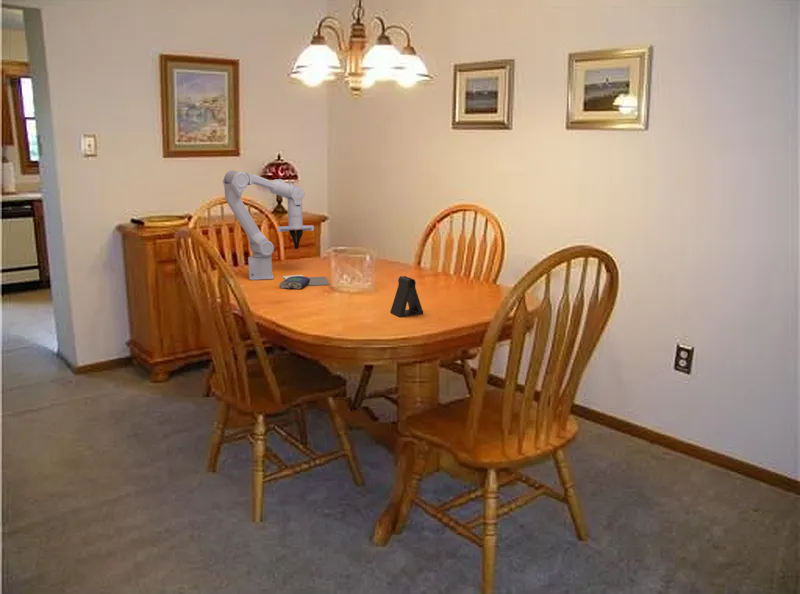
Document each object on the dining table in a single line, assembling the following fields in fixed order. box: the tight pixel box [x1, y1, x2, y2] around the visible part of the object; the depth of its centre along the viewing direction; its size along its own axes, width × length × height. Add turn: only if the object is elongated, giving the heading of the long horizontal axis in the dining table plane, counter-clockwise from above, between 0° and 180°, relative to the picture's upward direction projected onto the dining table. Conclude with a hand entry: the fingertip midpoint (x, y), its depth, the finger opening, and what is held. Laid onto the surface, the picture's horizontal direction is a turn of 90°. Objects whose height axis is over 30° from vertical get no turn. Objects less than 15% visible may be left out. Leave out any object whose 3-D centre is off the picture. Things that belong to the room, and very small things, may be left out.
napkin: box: [282, 274, 304, 280], centre depth 276 cm, size 8×6×1 cm
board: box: [306, 276, 331, 287], centre depth 269 cm, size 8×14×1 cm, turn 13°
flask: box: [279, 275, 310, 290], centre depth 260 cm, size 9×3×11 cm
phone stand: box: [390, 275, 424, 318], centre depth 222 cm, size 9×6×12 cm, turn 120°
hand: (296, 248), depth 283 cm, fingers closed
